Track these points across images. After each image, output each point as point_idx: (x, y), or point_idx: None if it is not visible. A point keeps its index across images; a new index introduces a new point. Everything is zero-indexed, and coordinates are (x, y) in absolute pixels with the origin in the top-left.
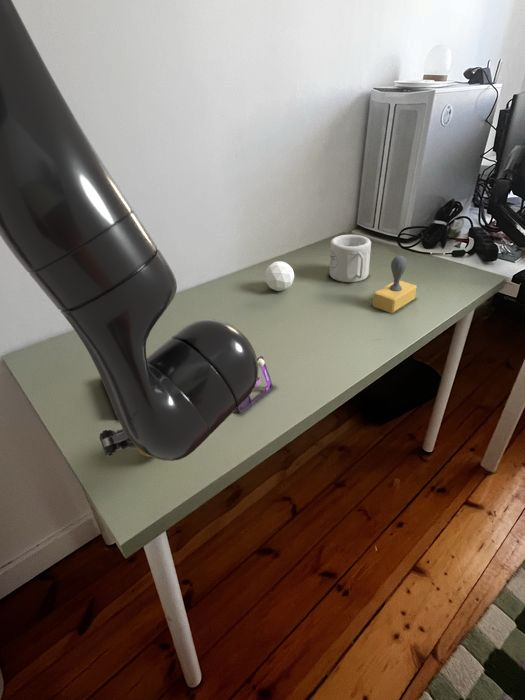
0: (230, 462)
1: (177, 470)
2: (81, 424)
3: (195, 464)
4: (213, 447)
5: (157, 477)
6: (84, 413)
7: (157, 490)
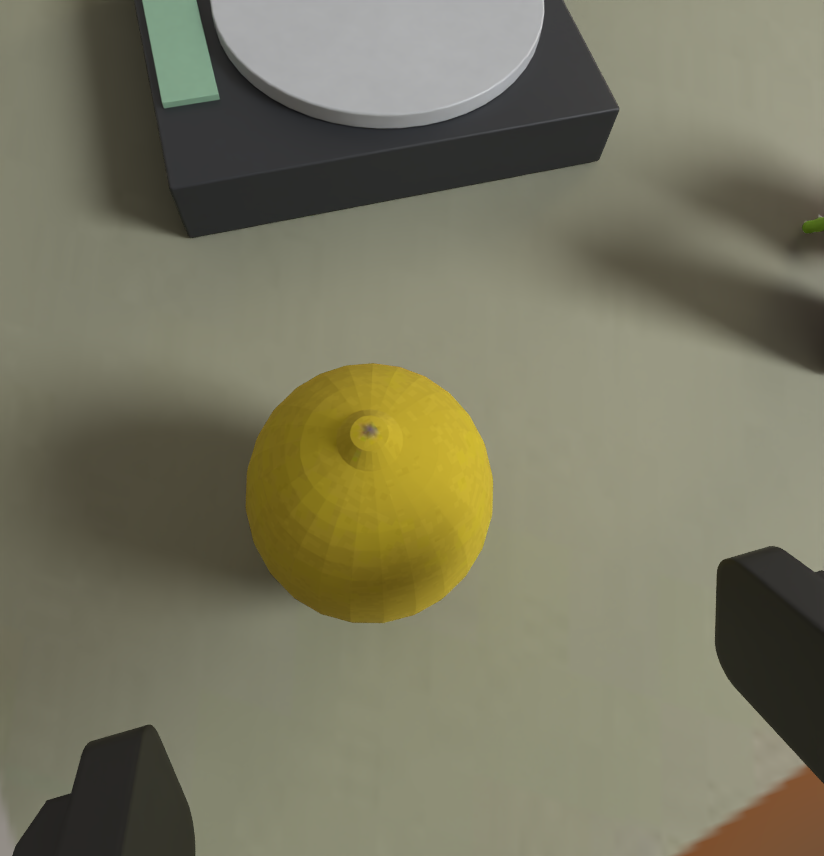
0: None
1: (483, 700)
2: (2, 214)
3: (587, 683)
4: (689, 580)
5: (367, 721)
6: (27, 148)
7: (361, 831)
